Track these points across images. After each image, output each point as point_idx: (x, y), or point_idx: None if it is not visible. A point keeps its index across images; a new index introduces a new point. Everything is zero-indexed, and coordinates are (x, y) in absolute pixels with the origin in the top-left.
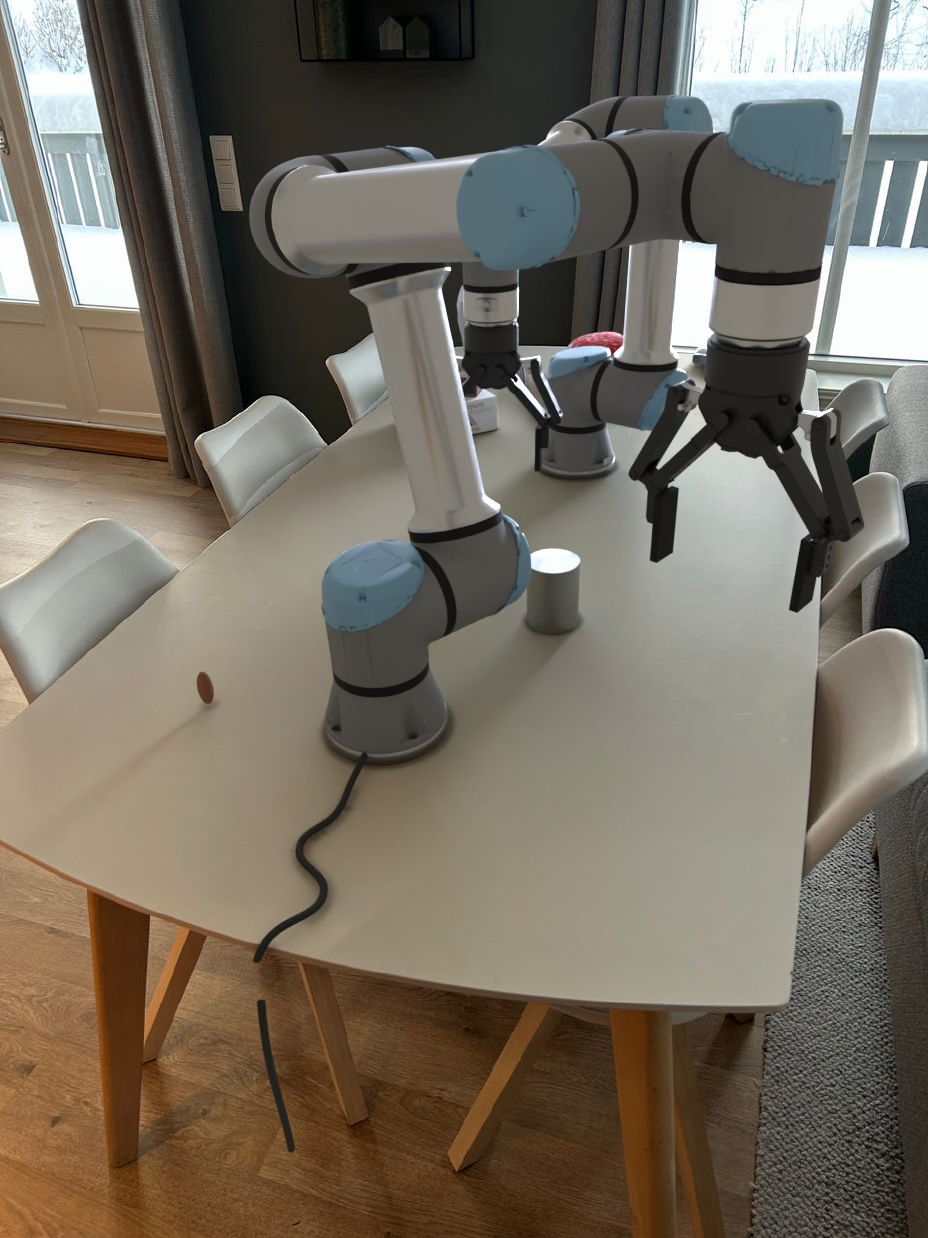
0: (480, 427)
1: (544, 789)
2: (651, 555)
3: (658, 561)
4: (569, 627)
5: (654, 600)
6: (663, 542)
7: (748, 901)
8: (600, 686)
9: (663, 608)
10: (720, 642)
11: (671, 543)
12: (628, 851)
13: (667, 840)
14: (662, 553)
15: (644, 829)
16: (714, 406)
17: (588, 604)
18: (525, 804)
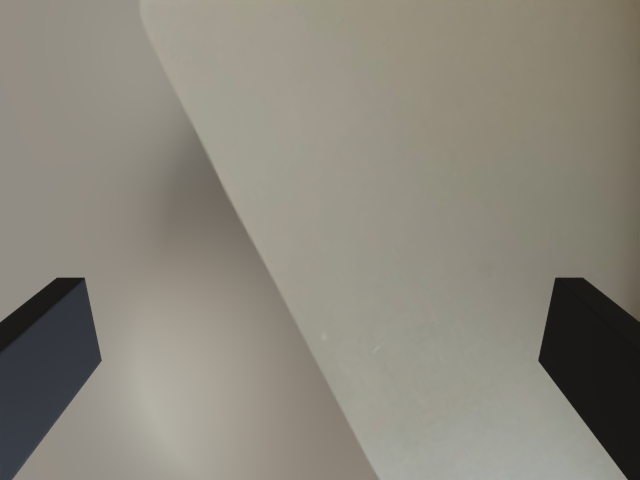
0: None
1: (503, 90)
2: (589, 287)
3: (554, 288)
4: None
5: (566, 458)
6: (584, 341)
7: (224, 100)
8: (542, 291)
9: (548, 452)
10: (460, 434)
11: (559, 372)
12: (363, 72)
13: (338, 119)
14: (561, 317)
15: (368, 116)
16: None
17: None
18: (509, 51)
